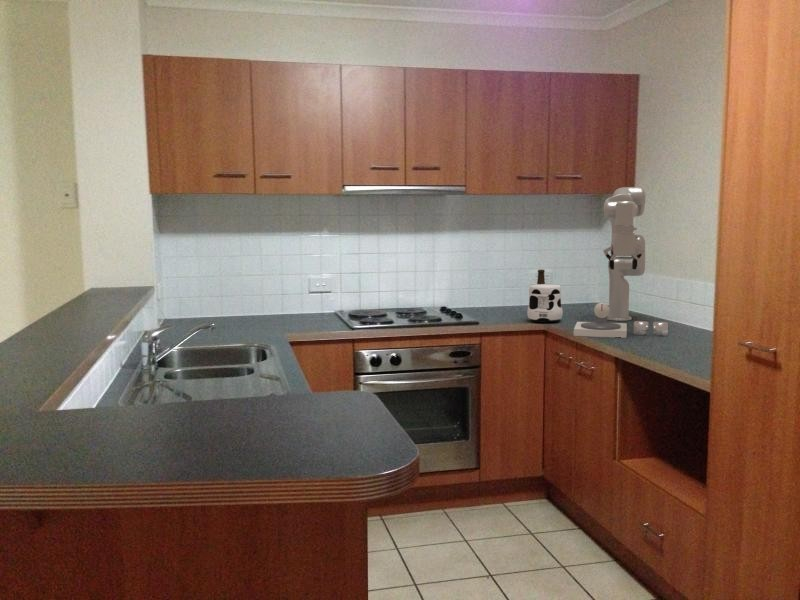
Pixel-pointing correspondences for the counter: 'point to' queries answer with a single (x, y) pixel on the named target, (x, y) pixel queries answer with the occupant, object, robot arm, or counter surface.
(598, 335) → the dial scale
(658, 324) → the cylinder
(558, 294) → the milk container
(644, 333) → the cylinder
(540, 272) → the beer bottle
